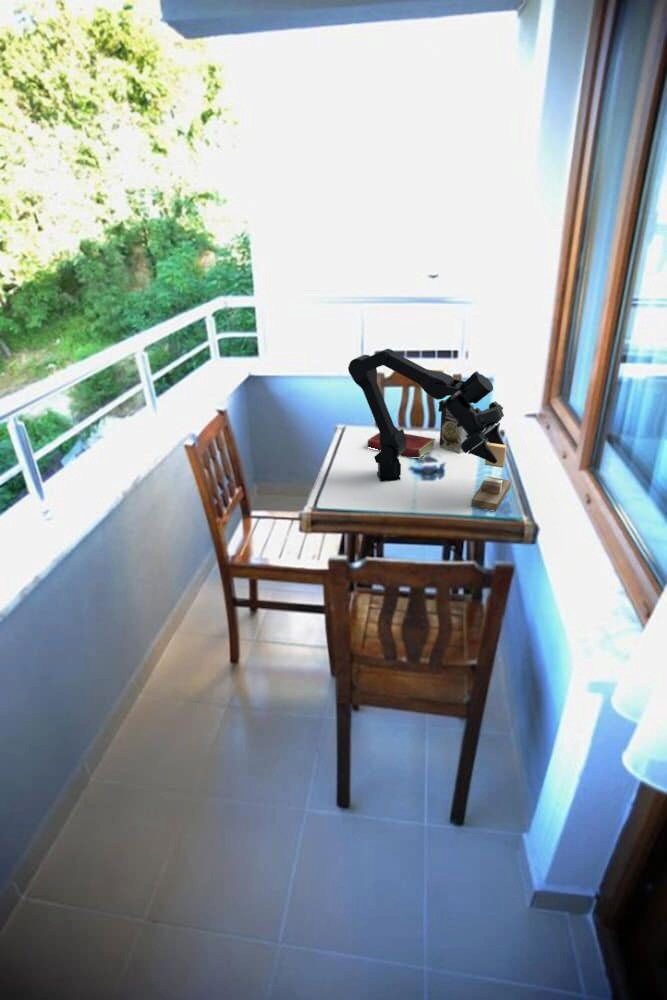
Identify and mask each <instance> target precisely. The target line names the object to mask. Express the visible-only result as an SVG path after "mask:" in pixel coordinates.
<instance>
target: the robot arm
mask: <svg viewBox="0 0 667 1000" xmlns="http://www.w3.org/2000/svg"><path fill="white" fill-rule="evenodd" d="M382 366H384V367H386V368H388V369H390V370H392V371H394V372H395V373H397V374H399V375H400V376H403V377H405V378H406V379H409V380H410V381H413V382H414V383H415V384H417V385H418V386H420V387H421V389H422V390H423V391H424V392H425V393H426V394H427V395H429V396H430V397H431V398H433V399H434V400H438V401H439V402H438V410H437V411H438V412H439V413H441V411H442V410H443V409H444V408H446V409H447V410H448V411H449V412H450V414H451V415H452V416H453V417H454V418H455V420H456V421H457V422H458V424H457V426H458V428H459V427H460V426H461V427H462V428H463V429H464V430H465V432H466V433H467V435H466V437H467V439H465V440H464V441H463V442H462V443H461V449H462V450H463V452H462V453H464V454H467V453H468V454H469V455H473V456H476V457H479V458H481V459H483V460H487V461H489V462H491V463H494V464H495V463H496V462H497V459H496V458H495V456H494V454H493V453H492V451H491V450H490V448H489V447H488V445H487V444H488V443H494V444H501V445H505V443H504V441H503V439H502V436H501V433H500V431H499V430H500V425H501V422H500V421H501V420H502V418H503V417H505V415H504V412H503V409H504V406H502V404H499V403H498V402H497V401H493V402H490V403H489V404H488V408H486V409H484V410H482V409H480V408H479V407H475V408H474V407H472V405H473V404H475V405H476V404H478V403H479V402H481V400H483V399H484V398H485V397H486V396H488V395H489V394H490V393H491V392H493V391H494V386H493V384H492V382H491V380H490V379H489V378H488V377H486V376H485V375H483V374H481V373H479V371H478V370H477V371H474V372H473V373H472V374H471V375H469V377H468V379H466V380H460V379H456V378H454V377H453V376H451V375H450V374H447V373H444V372H442V371H436V370H431V369H427V368H426V367H423V366H421V365H420V364H418V363H415V362H414V361H412V360H410V359H408V358H406V357H404V356H403V355H400V354H398V353H396V352H395V351H394V350H392V349H390V348H385V349H383V350H381V351H380V352H377V353H374V354H372V355H369V354H362V355H360V356H358V357H356V358H354V359H352V360H350V362H349V364H348V367H347V368H348V369H347V370H348V373H349V375H350V376H351V378H352V380H353V382H354V383H355V384H356V385H357V386H358V387H360V389H361V390H362V392H363V394H364V397H365V399H366V403H367V404H368V406H369V409H370V412H371V414H372V417H373V419H374V422H375V424H376V426H377V429H378V431H379V432H378V433H380V447H381V451H378V453H377V454H375V455H374V457H373V458H374V461H375V463H376V464H377V471H376V475H377V477H378V479H379V482H381V483H382V482H389V481H390V482H391V481H392V482H393V481H401V477H400V476H401V475H402V474H401V473H402V472H401V471H402V468H401V467H402V464H401V462H400V459H399V457H401V456H400V455H401V453H402V452H404V451H405V449H406V447H407V442H406V441H408V439H407V438H406V437H405V434H406V433H405V431H404V429H403V428H400V430H399V428H397V427H396V426H395V424H394V422H393V420H392V417H391V415H390V412H389V409H388V407H387V404H386V402H385V399H384V397H383V394H382V391H381V390H380V387H379V385H378V370H377V368H379V367H382ZM457 392H460V393H458V394H457V395H456V393H457ZM446 397H447V398H446ZM444 398H445V399H444ZM443 399H444V400H443ZM404 433H405V434H404Z"/></svg>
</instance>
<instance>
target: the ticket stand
mask: <svg viewBox="0 0 667 1000" xmlns="http://www.w3.org/2000/svg"><path fill="white" fill-rule="evenodd" d="M511 484H512V480H510V479H509V480H508V479H505V478H498V477H492V476H486V477H484V478H483V480H482V482H481V485H480V487H479V488H478V490H476V492H475V493H474V495H473V496H472V497H471V499H470V501H471V503H470V507H471V508H475V509H480V510H484V509H487V510H486V511H489V510H494V511H496V510H497V511H498V509H499V508H500V506H501V504H502V503H501V502H503V501H504V499H505V498H504V497H506V496H507V494H508V493H509V491H510V489H511ZM507 492H508V493H507ZM502 500H503V501H502ZM499 505H500V506H499ZM498 507H499V508H498ZM497 508H498V509H497ZM494 511H493V512H494ZM497 511H496V512H497Z"/></svg>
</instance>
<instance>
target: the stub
mask: <svg viewBox="0 0 667 1000" xmlns="http://www.w3.org/2000/svg"><path fill="white" fill-rule="evenodd" d="M487 445H488V447H489V448H490V450H491V451H492V453H493V454H494V456H495V458H496V459H497V462H496V463H495V464H494V463H491V462H489V461H487V460H485V459H484V460H485V461H484V466H491V467H496V468H502V469H503V468H504V466H505V464H506V456H507V447H508V446H507V445H505V444H504V445H501V444H494V443H489V442H487Z"/></svg>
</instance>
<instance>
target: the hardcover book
mask: <svg viewBox="0 0 667 1000" xmlns="http://www.w3.org/2000/svg"><path fill="white" fill-rule="evenodd" d="M404 434H405V437H406V438H407V439H408V441H406V442H407V447H406V449H405V451H404V452H402V453H401V456H402V457H405V456H406V458H409V457H420V456H421V455H423V454H425V453H427V452H428V453H429V452H431V451H432V450H434V447H435V446H434V444H435V441H436V439H435V438H432V437H426V436H421V435H416V434H409V433H405V432H404ZM368 447H371V448H375V449H378V450H381V447H380V432H378V433H376V434H374V435H373V436H371V437H370V438H368V439H367V448H368ZM428 453H427V454H428ZM425 455H426V454H425ZM401 456H400V457H401Z"/></svg>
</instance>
